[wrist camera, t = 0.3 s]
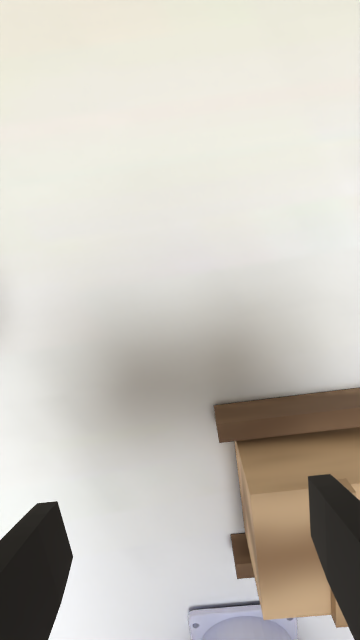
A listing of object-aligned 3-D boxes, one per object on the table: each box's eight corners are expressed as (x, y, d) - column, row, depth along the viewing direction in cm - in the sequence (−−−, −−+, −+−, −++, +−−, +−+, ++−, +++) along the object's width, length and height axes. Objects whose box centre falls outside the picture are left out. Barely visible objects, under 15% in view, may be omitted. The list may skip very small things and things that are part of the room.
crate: (363, 519, 20) (429, 620, 14) (244, 530, 20) (266, 633, 15) (363, 413, 18) (439, 484, 12) (233, 428, 18) (252, 503, 13)
